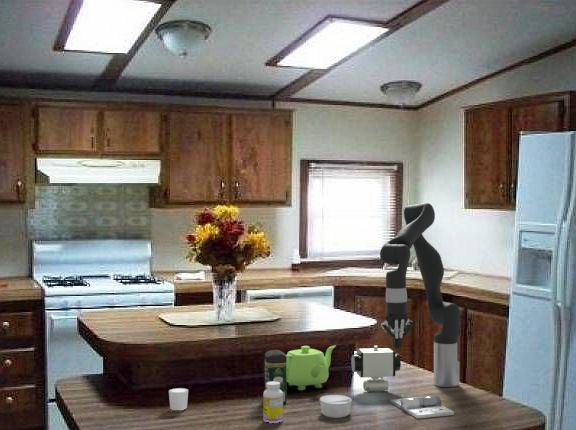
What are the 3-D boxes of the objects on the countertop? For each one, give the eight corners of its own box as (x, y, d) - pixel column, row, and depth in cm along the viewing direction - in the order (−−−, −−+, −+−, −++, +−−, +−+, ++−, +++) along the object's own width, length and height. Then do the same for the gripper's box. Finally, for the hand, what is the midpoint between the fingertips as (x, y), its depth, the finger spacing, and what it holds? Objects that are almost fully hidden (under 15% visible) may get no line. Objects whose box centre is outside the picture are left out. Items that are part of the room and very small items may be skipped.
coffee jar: (263, 398, 265) (263, 348, 265) (283, 396, 267) (283, 347, 266) (267, 405, 256) (267, 354, 255) (288, 404, 257) (288, 353, 257)
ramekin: (342, 420, 237) (342, 405, 237) (313, 415, 243) (313, 400, 243) (357, 412, 247) (357, 397, 247) (329, 407, 253) (329, 393, 253)
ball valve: (395, 387, 280) (395, 343, 280) (401, 393, 272) (401, 347, 272) (350, 389, 278) (350, 344, 278) (355, 394, 270) (355, 348, 269)
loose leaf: (435, 405, 255) (435, 394, 255) (453, 414, 243) (453, 403, 243) (400, 408, 251) (400, 397, 250) (417, 418, 239) (417, 406, 239)
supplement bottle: (262, 418, 240) (262, 380, 240) (282, 417, 240) (282, 380, 240) (263, 424, 233) (263, 385, 233) (283, 423, 234) (283, 385, 234)
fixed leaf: (425, 399, 263) (425, 388, 263) (442, 408, 251) (442, 397, 251) (390, 402, 258) (390, 392, 258) (405, 412, 247) (405, 400, 247)
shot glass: (191, 408, 252) (191, 388, 252) (182, 413, 246) (182, 393, 245) (174, 406, 254) (174, 387, 254) (165, 411, 248) (165, 391, 248)
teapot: (297, 397, 266) (297, 355, 266) (272, 384, 285) (272, 345, 285) (353, 389, 278) (353, 349, 278) (325, 377, 297) (325, 339, 297)
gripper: (407, 297, 257) (408, 344, 258) (375, 300, 253) (376, 348, 254) (418, 300, 250) (419, 348, 251) (384, 303, 246) (385, 352, 247)
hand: (397, 348), depth 252 cm, fingers closed
